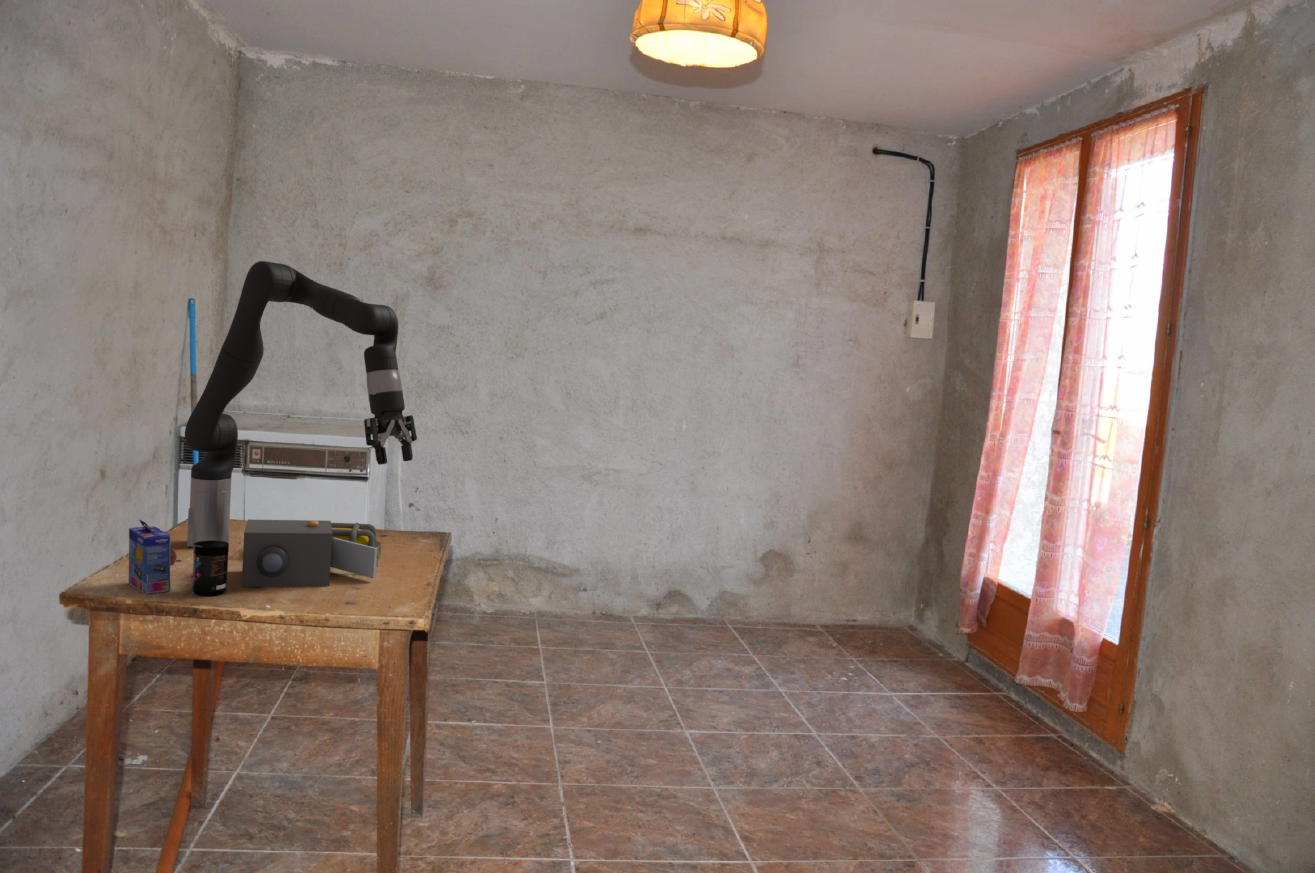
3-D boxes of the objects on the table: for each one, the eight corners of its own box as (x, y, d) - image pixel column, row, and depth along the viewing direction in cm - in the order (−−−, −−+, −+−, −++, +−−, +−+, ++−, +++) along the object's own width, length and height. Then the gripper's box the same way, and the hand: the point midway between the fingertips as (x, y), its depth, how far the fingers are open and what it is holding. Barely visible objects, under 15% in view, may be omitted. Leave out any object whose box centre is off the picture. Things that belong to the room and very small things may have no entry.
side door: (373, 578, 217) (374, 548, 216) (329, 566, 224) (330, 537, 223) (377, 577, 218) (379, 547, 217) (333, 565, 225) (335, 536, 224)
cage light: (261, 517, 240) (383, 521, 247) (259, 547, 241) (381, 551, 248) (250, 529, 226) (380, 533, 233) (248, 561, 227) (378, 565, 234)
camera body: (240, 590, 202) (243, 530, 201) (245, 570, 218) (247, 515, 216) (329, 589, 208) (332, 531, 207) (327, 570, 224) (330, 516, 223)
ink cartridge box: (126, 584, 200) (128, 516, 198) (154, 580, 204) (156, 514, 202) (142, 595, 193) (144, 525, 191) (170, 591, 197) (173, 523, 195)
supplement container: (207, 586, 203) (209, 538, 202) (234, 591, 201) (236, 543, 200) (184, 593, 196) (186, 544, 195) (211, 598, 195) (213, 549, 194)
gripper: (393, 393, 221) (403, 462, 221) (350, 394, 209) (360, 467, 209) (418, 388, 218) (428, 458, 218) (376, 389, 205) (387, 463, 205)
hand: (395, 462), depth 213 cm, fingers open, 8 cm apart
